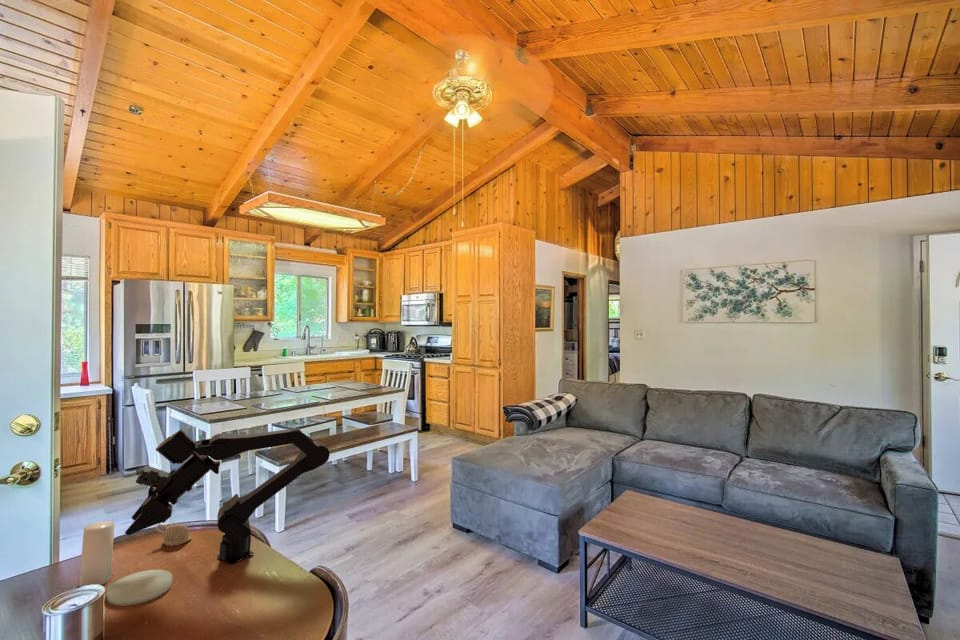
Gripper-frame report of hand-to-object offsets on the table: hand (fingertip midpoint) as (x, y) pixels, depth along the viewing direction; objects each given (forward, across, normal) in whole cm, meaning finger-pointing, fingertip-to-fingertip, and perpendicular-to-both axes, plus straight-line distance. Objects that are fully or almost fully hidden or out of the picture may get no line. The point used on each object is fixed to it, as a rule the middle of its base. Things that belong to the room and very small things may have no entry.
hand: (129, 526), depth 109 cm
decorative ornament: (+3, -16, +15) cm, 22 cm away
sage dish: (+6, +8, +11) cm, 15 cm away
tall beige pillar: (+12, 0, +4) cm, 13 cm away
